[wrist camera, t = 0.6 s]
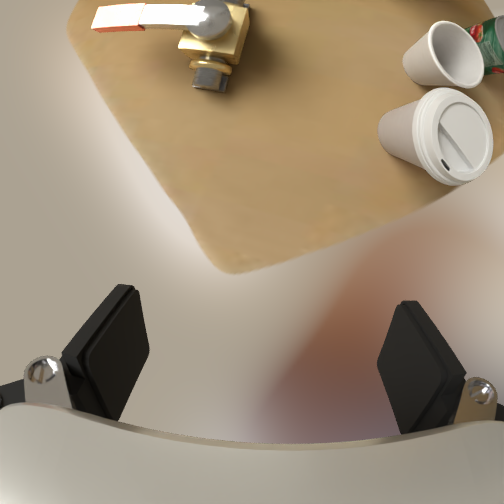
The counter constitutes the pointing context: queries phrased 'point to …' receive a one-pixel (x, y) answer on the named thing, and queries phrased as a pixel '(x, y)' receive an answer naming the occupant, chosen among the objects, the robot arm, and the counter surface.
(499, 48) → the canned tomato
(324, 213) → the counter surface
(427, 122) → the coffee cup
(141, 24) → the lever
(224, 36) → the valve body
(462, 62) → the dixie cup
